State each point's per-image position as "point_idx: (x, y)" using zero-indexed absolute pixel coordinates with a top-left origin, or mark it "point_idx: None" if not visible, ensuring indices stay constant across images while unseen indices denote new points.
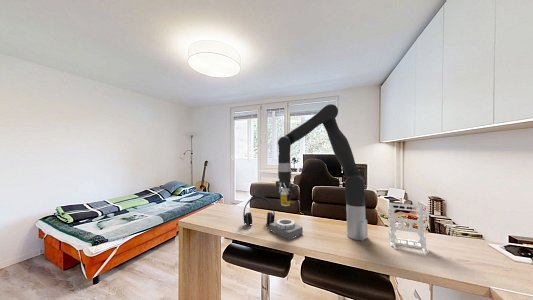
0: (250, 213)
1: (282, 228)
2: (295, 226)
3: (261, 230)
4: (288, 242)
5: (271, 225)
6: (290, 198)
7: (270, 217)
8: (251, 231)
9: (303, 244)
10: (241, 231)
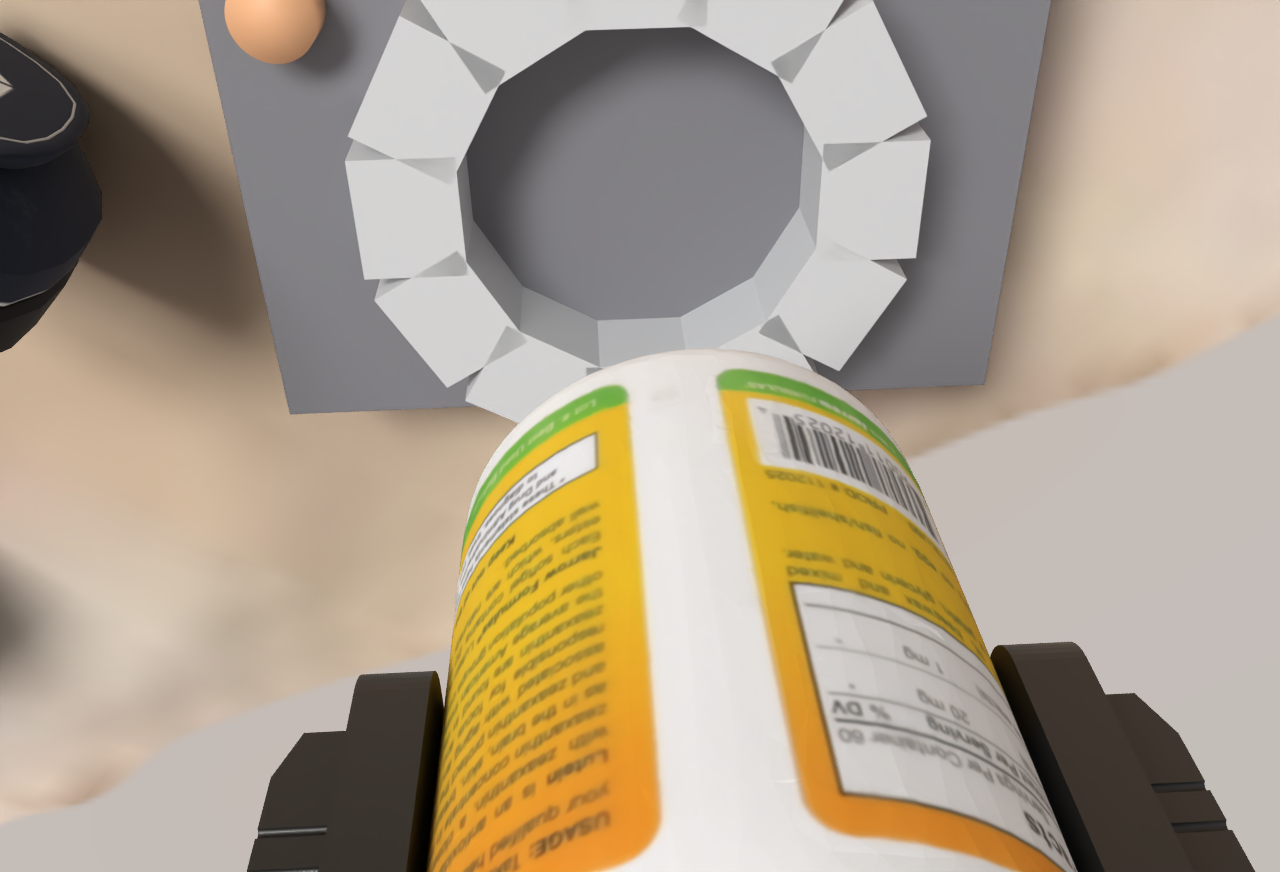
0: None
1: None
2: (891, 10)
3: (213, 443)
4: None
5: (375, 401)
6: (1165, 785)
7: (28, 295)
8: (158, 595)
9: (1258, 214)
10: (68, 707)
